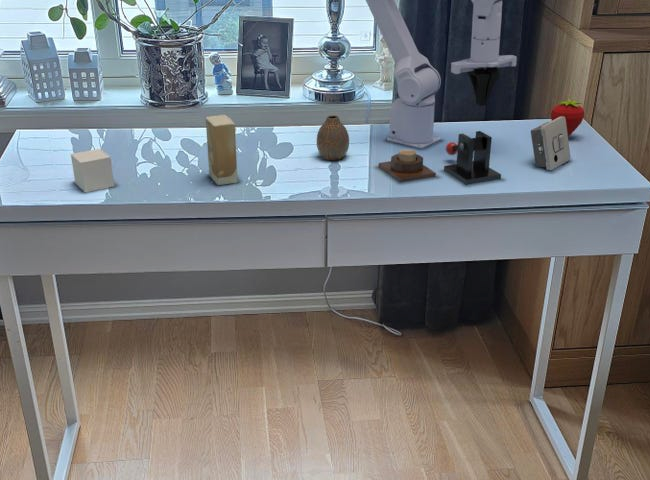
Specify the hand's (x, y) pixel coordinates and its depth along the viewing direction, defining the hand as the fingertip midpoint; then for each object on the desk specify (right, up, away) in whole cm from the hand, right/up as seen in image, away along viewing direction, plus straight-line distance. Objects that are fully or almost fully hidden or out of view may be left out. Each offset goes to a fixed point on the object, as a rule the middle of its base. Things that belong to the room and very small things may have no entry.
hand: (481, 104), depth 190 cm
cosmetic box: (-53, -18, -8) cm, 57 cm away
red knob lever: (-5, -12, -6) cm, 14 cm away
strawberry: (+21, -4, +14) cm, 26 cm away
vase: (-31, -11, +3) cm, 33 cm away
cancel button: (-16, -13, -6) cm, 22 cm away
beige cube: (-79, -19, -11) cm, 82 cm away
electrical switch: (+14, -13, -1) cm, 19 cm away
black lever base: (-3, -16, -7) cm, 18 cm away
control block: (-16, -15, -5) cm, 23 cm away
